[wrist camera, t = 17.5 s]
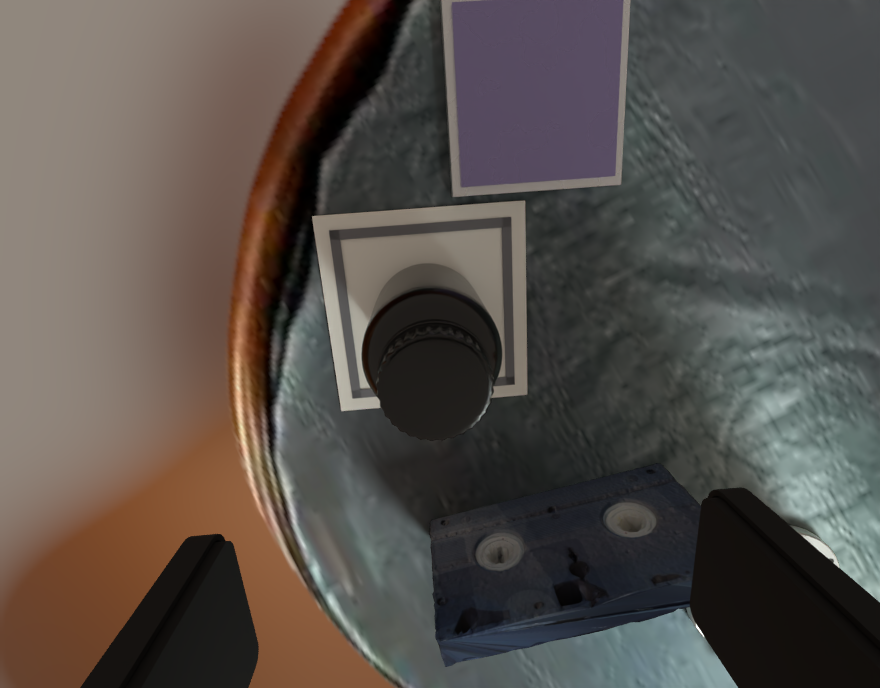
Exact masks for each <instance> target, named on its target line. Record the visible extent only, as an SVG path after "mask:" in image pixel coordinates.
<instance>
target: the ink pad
mask: <svg viewBox="0 0 880 688" xmlns="http://www.w3.org/2000/svg"><path fill="white" fill-rule="evenodd" d="M440 14H441V31H442V48H443V65H444V82H445V99H446V116H447V132H448V149H449V166H450V183H451V197H462V196H475V195H489V194H503V193H516V192H530V191H543V190H557V189H571V188H584V187H598V186H612V185H621V176H622V156H623V137H624V117H625V97H626V77H627V57H628V37H629V17H630V0H440Z"/></svg>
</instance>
